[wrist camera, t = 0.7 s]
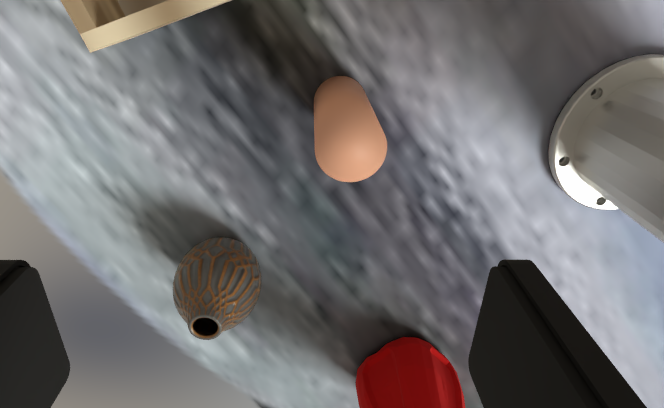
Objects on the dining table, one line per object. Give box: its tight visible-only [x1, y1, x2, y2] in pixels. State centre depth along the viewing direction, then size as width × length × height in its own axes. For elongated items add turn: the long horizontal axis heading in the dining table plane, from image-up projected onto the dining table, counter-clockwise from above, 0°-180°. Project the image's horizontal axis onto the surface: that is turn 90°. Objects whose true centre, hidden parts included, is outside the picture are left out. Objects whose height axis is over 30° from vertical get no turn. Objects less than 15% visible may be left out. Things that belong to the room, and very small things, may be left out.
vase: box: [173, 237, 261, 340], centre depth 35 cm, size 7×7×9 cm
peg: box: [314, 76, 387, 182], centre depth 28 cm, size 4×4×10 cm
